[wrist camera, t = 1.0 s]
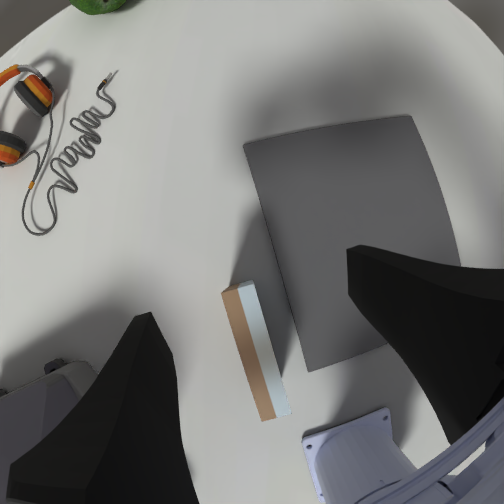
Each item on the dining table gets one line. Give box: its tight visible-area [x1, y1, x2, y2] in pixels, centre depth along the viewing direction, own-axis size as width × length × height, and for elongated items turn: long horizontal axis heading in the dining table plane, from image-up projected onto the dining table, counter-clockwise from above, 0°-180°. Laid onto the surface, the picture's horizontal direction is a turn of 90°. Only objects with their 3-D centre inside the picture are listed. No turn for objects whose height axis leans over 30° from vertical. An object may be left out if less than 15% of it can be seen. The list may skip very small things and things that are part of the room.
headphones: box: [0, 64, 115, 236], centre depth 20 cm, size 17×5×20 cm
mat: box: [243, 116, 461, 372], centre depth 21 cm, size 18×16×1 cm
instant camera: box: [0, 359, 98, 504], centre depth 13 cm, size 21×21×15 cm
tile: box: [221, 280, 292, 421], centre depth 18 cm, size 8×2×6 cm, turn 16°
